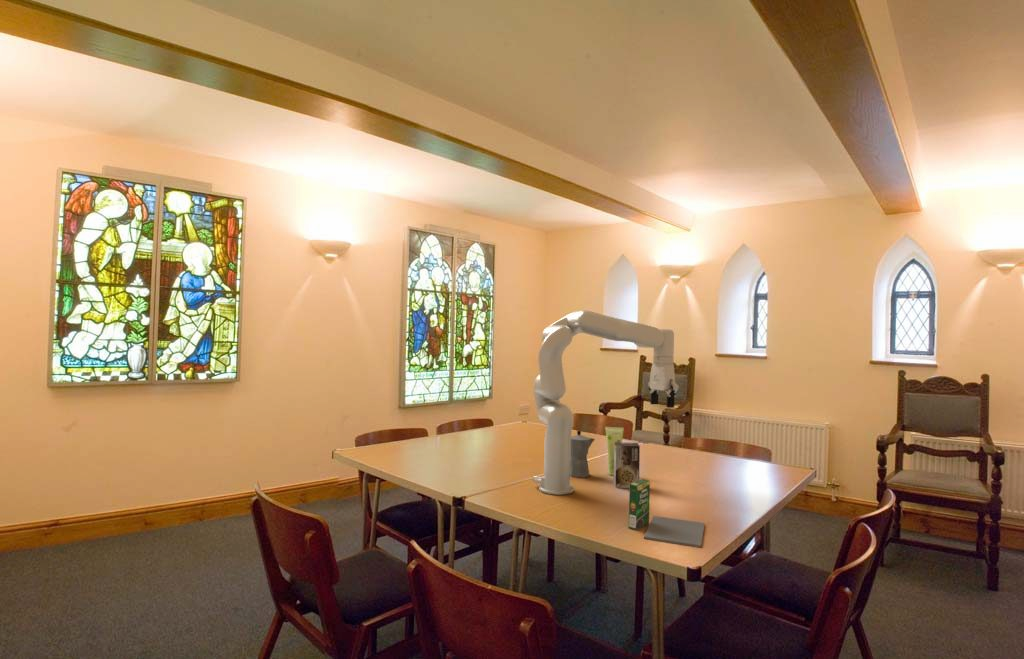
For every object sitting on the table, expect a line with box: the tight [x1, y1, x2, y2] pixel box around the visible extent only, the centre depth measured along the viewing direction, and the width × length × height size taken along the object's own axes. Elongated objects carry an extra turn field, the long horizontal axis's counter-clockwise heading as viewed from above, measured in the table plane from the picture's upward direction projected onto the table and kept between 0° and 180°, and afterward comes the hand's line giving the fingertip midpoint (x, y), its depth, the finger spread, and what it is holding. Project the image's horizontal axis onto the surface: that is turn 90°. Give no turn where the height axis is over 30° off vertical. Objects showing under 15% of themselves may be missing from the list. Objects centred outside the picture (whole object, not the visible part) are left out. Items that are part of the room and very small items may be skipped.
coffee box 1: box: [613, 441, 641, 489], centre depth 207 cm, size 9×6×16 cm
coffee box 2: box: [628, 478, 651, 531], centre depth 162 cm, size 8×3×13 cm, turn 138°
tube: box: [604, 426, 625, 477], centre depth 225 cm, size 6×5×20 cm
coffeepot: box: [570, 430, 596, 479], centre depth 223 cm, size 15×9×18 cm, turn 94°
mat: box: [643, 515, 706, 548], centre depth 158 cm, size 15×20×1 cm
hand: (662, 405), depth 210 cm, fingers open, 9 cm apart
